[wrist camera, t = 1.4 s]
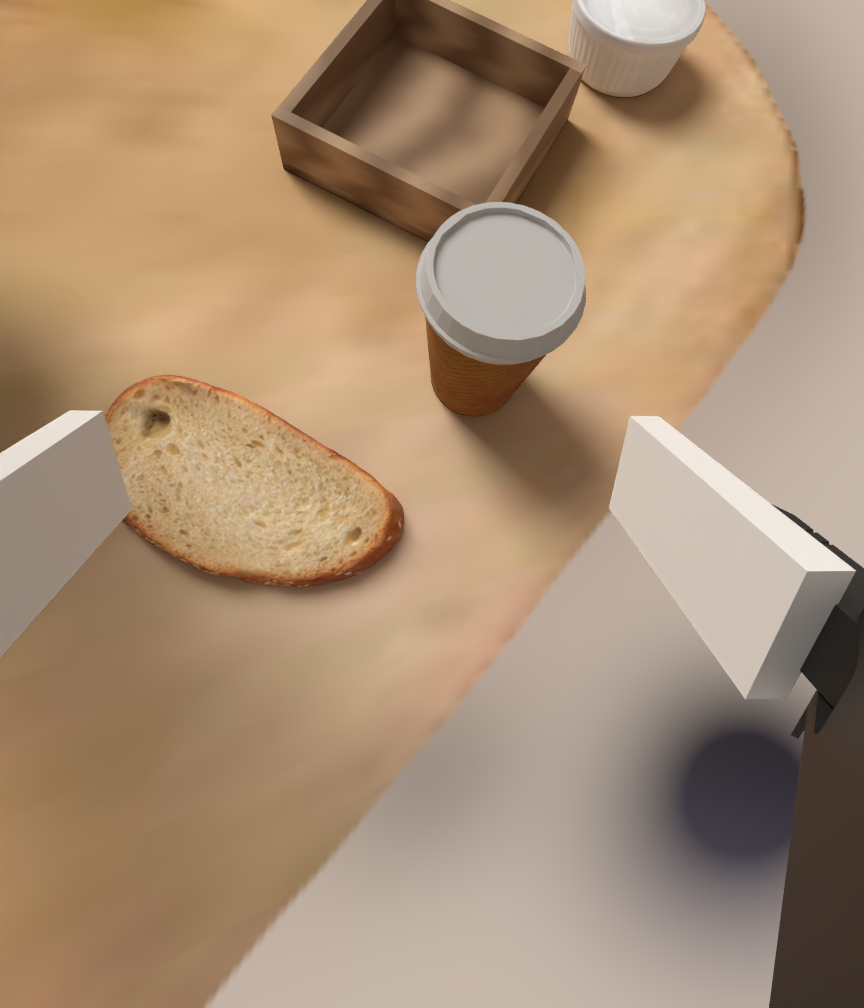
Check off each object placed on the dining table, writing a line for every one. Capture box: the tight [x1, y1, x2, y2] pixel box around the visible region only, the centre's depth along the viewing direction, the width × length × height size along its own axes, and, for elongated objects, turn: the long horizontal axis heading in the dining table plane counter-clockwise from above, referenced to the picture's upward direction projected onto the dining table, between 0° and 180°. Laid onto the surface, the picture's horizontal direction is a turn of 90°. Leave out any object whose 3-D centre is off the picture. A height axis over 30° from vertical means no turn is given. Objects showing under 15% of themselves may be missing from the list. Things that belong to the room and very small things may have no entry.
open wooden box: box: [272, 0, 586, 242], centre depth 42 cm, size 18×18×4 cm
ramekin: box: [568, 0, 706, 97], centre depth 46 cm, size 11×11×5 cm
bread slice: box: [105, 375, 404, 587], centre depth 34 cm, size 18×18×4 cm
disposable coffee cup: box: [416, 202, 586, 416], centre depth 33 cm, size 10×10×12 cm
